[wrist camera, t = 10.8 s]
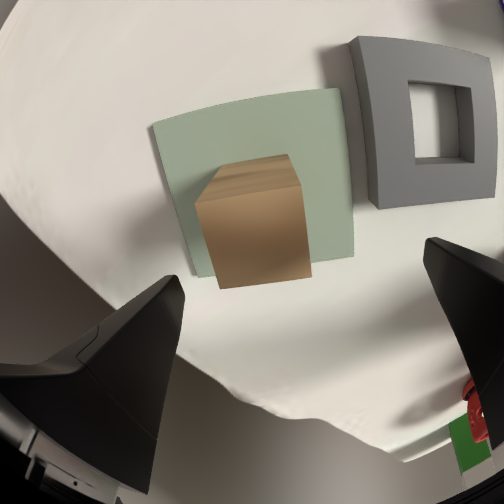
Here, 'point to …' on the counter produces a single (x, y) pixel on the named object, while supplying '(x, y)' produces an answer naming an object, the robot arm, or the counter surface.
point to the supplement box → (502, 4)
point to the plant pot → (475, 413)
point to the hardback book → (470, 454)
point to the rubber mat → (259, 146)
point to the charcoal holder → (401, 123)
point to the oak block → (255, 223)
